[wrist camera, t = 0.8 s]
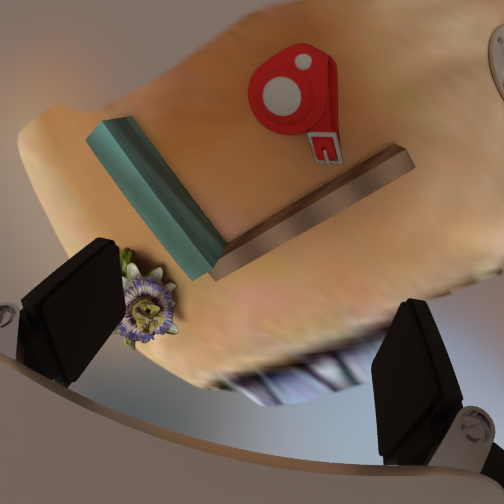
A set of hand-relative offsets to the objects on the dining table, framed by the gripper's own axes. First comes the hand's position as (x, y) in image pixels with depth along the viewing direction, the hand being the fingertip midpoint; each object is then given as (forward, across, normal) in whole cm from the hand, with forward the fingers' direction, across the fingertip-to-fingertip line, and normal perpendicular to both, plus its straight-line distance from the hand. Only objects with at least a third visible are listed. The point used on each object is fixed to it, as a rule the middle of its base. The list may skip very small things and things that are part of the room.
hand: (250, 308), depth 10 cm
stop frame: (+24, +5, -2) cm, 25 cm away
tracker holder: (+25, 0, -6) cm, 26 cm away
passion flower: (+24, +17, +19) cm, 36 cm away
